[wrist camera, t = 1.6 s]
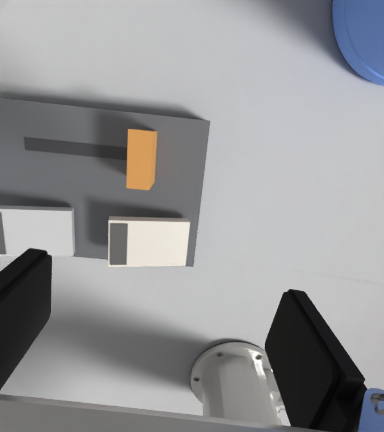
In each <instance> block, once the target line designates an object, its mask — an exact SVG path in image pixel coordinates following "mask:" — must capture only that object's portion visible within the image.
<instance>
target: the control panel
mask: <svg viewBox="0 0 384 432" xmlns="http://www.w3.org/2000/svg"><path fill="white" fill-rule="evenodd" d="M209 126H210V121H207V120H198V119H189V118H180V117H171V116H161V115H152V114H143V113H134V112H125V111H116V110H107V109H98V108H89V107H80V106H70V105H61V104H52V103H43V102H34V101H25V100H16V99H7V98H0V205H7V206H38V207H68V208H74V230H75V253H74V255H73V256H74V257H86V258H98V259H108V228H109V216H117V217H155V218H188V220H189V221H190V228H189V238H188V247H187V256H186V266H191V267H193V264H194V255H195V246H196V238H197V229H198V221H199V212H200V203H201V195H202V186H203V178H204V169H205V161H206V152H207V143H208V135H209ZM128 129H140V130H149V131H158V132H157V149H156V165H155V182H154V184H153V185H152V187H151V188H150V190H140V189H130V188H126V183H127V147H128Z"/></svg>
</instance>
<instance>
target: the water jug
mask: <svg viewBox="0 0 384 432" xmlns="http://www.w3.org/2000/svg"><path fill="white" fill-rule="evenodd" d="M333 26H334V32H335V36H336V40H337V43H338V46H339V48H340V50H341V53H342V54H343V56H344V58H345V59H346V61H347V62H348V64H349V65H350V66H351V67H352V68H353V69H354V70H355V71H356V72H357V73H358V74H359V75H361V76H362V77H364V78H365V79H367V80H369V81H371V82H373V83H376V84H379V85H383V86H384V0H333Z"/></svg>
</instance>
